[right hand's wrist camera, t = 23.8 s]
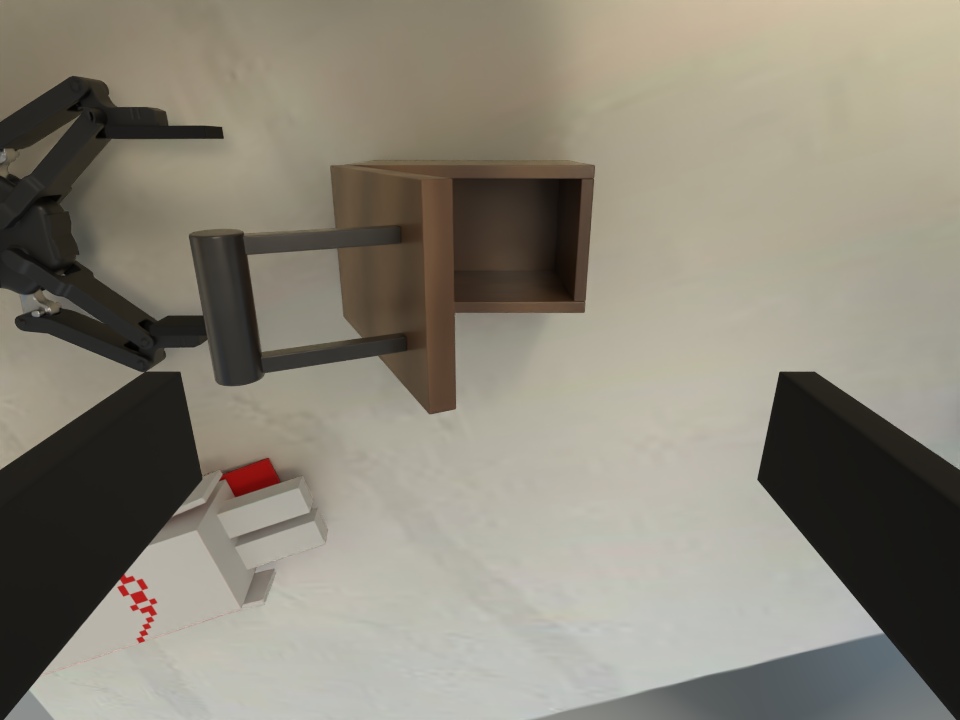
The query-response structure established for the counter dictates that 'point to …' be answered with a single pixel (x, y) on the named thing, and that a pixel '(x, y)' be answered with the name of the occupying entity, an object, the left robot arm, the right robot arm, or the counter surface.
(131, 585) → the toy
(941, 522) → the right robot arm
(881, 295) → the counter surface
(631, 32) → the counter surface
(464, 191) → the chest
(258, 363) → the lid
